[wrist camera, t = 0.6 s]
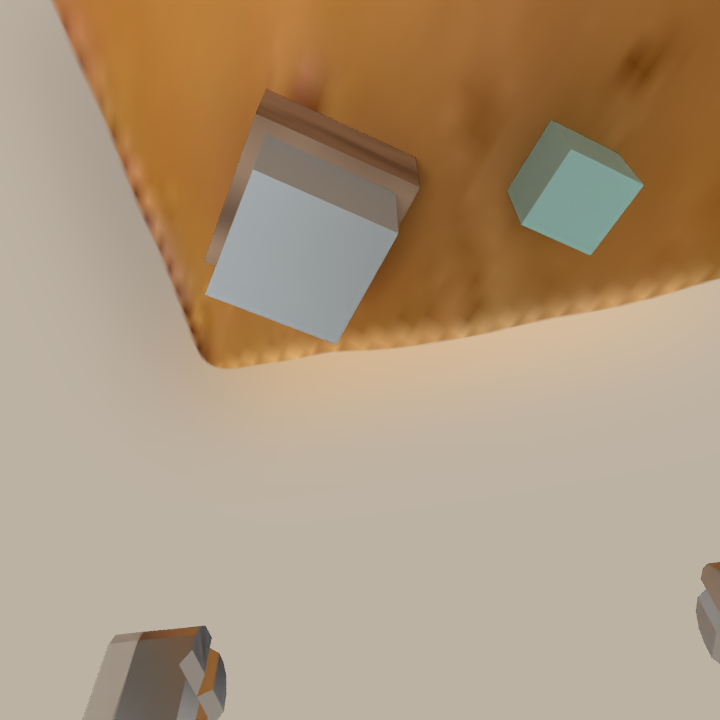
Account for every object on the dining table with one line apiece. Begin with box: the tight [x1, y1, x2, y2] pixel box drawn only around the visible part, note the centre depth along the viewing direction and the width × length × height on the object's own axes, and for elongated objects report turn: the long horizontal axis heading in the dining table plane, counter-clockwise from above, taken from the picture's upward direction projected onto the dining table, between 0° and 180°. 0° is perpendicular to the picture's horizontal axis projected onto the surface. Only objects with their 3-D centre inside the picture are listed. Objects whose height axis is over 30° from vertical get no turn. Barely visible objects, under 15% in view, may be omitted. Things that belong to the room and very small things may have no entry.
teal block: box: [507, 120, 644, 256], centre depth 40 cm, size 5×5×5 cm
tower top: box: [205, 135, 398, 344], centre depth 37 cm, size 8×8×5 cm
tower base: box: [204, 89, 420, 266], centre depth 41 cm, size 10×10×5 cm
